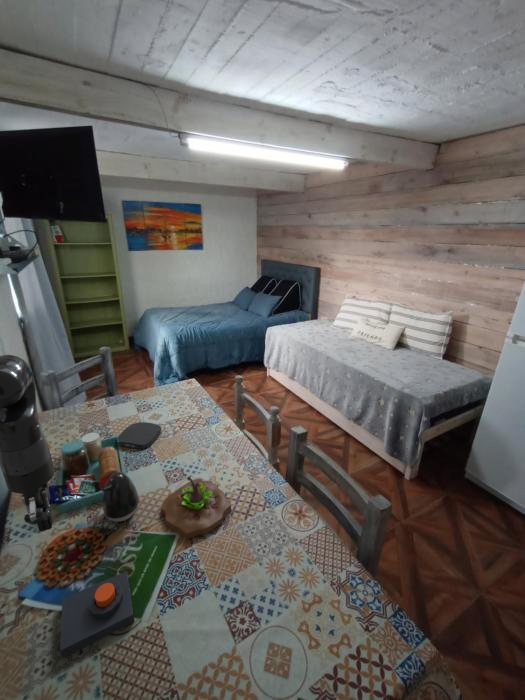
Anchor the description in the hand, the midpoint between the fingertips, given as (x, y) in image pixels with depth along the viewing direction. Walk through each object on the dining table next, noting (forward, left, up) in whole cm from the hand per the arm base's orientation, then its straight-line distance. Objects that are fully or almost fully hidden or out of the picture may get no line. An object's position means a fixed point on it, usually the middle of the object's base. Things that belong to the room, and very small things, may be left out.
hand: (46, 527), depth 65 cm
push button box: (+6, -5, -25) cm, 26 cm away
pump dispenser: (+14, +22, -25) cm, 36 cm away
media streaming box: (+25, +60, -25) cm, 70 cm away
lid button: (+8, -5, -21) cm, 23 cm away
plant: (+35, +13, -25) cm, 45 cm away
